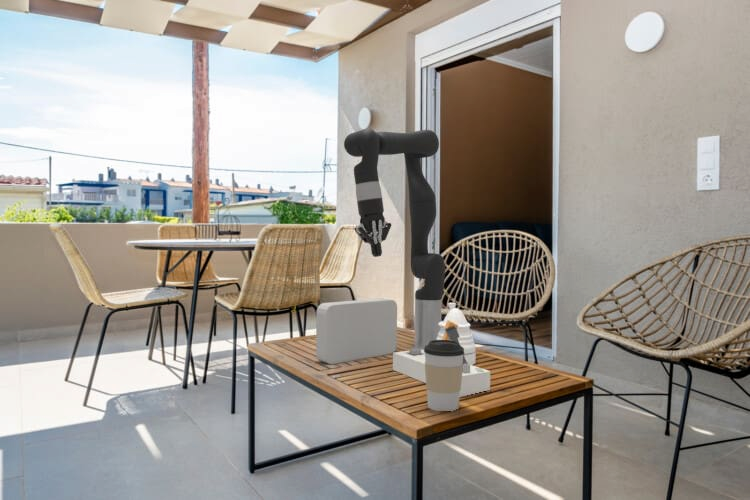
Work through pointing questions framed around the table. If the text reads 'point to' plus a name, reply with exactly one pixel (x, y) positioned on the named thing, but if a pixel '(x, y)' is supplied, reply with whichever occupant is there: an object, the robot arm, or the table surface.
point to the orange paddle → (448, 324)
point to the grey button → (414, 351)
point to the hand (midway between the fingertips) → (377, 256)
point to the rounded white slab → (355, 330)
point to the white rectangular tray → (415, 368)
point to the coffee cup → (443, 374)
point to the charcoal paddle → (454, 337)
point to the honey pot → (460, 332)
